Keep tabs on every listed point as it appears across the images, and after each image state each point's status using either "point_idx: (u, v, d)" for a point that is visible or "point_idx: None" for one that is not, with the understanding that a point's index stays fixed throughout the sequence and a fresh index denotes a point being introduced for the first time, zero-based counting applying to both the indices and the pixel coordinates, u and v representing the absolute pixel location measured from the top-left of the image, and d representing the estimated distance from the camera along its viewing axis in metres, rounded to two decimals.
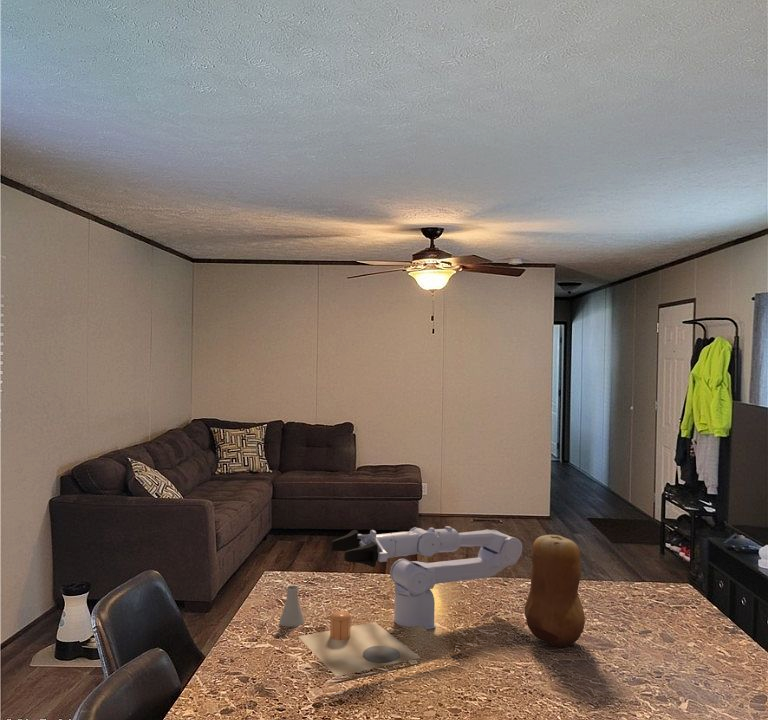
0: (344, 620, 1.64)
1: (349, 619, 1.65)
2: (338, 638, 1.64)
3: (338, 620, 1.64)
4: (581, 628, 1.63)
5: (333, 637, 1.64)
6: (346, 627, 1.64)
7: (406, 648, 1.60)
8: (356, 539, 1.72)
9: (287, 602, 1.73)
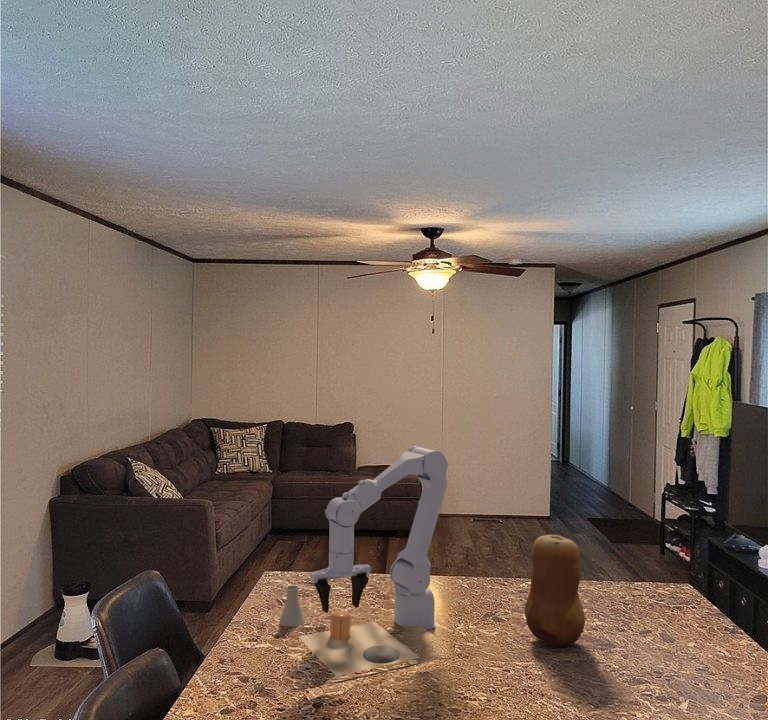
0: (344, 620, 1.64)
1: (349, 619, 1.65)
2: (338, 638, 1.64)
3: (338, 620, 1.64)
4: (581, 628, 1.63)
5: (333, 637, 1.64)
6: (346, 627, 1.64)
7: (406, 648, 1.60)
8: None
9: (287, 602, 1.73)
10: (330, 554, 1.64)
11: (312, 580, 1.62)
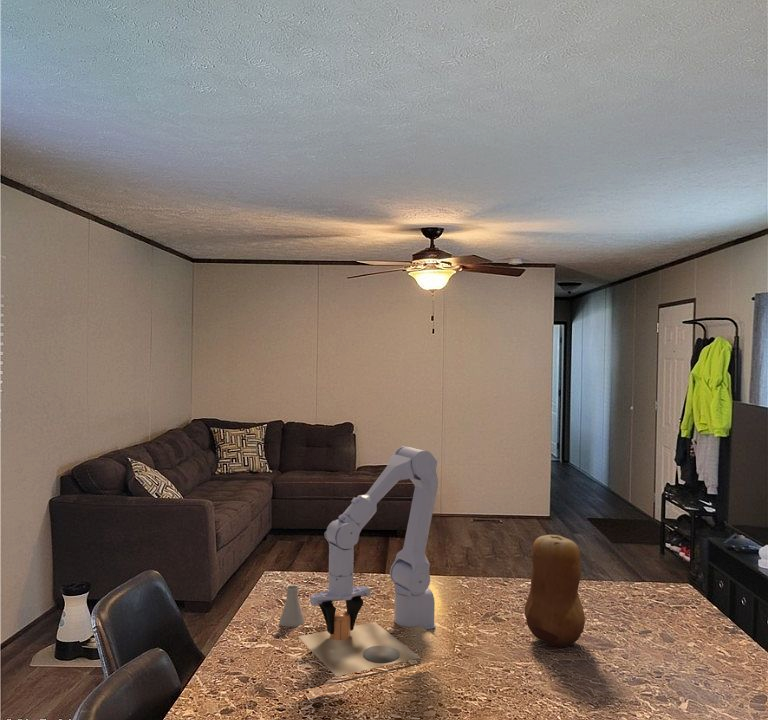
0: (344, 620, 1.64)
1: (349, 619, 1.65)
2: (338, 638, 1.64)
3: (338, 620, 1.64)
4: (581, 628, 1.63)
5: (333, 637, 1.64)
6: (346, 627, 1.64)
7: (406, 648, 1.60)
8: None
9: (287, 602, 1.73)
10: (330, 577, 1.64)
11: (312, 603, 1.62)
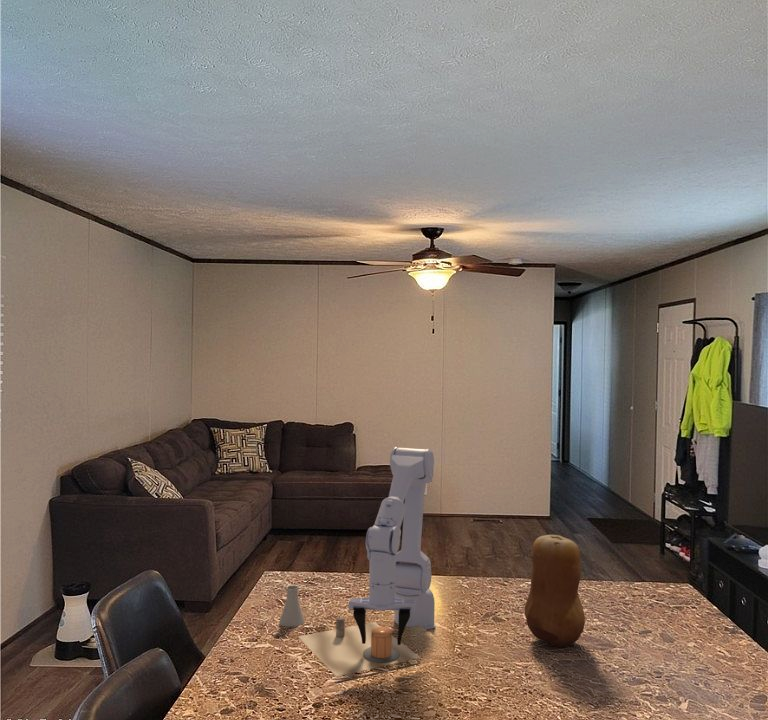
0: (381, 637, 1.54)
1: (388, 637, 1.55)
2: (374, 655, 1.54)
3: (375, 636, 1.54)
4: (581, 628, 1.63)
5: None
6: (383, 645, 1.54)
7: (406, 648, 1.60)
8: (364, 614, 1.55)
9: (287, 602, 1.73)
10: (369, 583, 1.56)
11: None
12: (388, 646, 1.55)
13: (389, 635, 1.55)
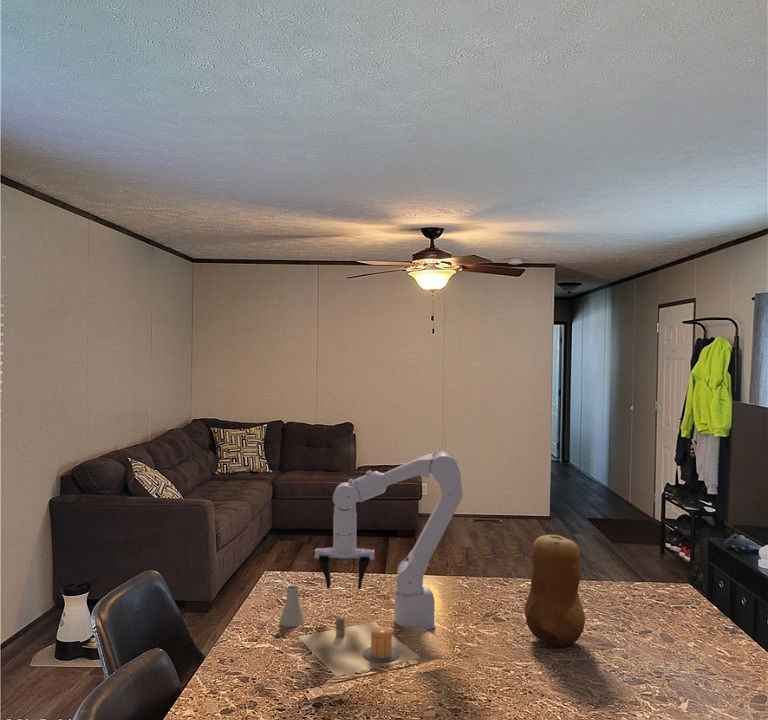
0: (381, 637, 1.54)
1: (388, 637, 1.55)
2: (374, 655, 1.54)
3: (375, 636, 1.54)
4: (581, 628, 1.63)
5: None
6: (383, 645, 1.54)
7: (406, 648, 1.60)
8: (329, 562, 1.75)
9: (287, 602, 1.73)
10: (333, 534, 1.76)
11: (315, 555, 1.76)
12: (388, 646, 1.55)
13: (389, 635, 1.55)
